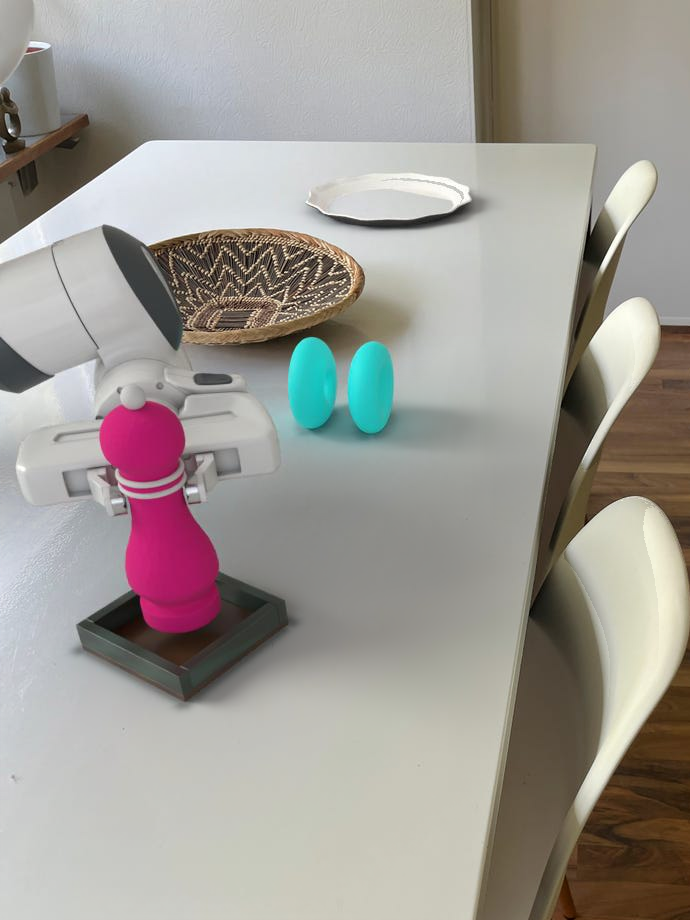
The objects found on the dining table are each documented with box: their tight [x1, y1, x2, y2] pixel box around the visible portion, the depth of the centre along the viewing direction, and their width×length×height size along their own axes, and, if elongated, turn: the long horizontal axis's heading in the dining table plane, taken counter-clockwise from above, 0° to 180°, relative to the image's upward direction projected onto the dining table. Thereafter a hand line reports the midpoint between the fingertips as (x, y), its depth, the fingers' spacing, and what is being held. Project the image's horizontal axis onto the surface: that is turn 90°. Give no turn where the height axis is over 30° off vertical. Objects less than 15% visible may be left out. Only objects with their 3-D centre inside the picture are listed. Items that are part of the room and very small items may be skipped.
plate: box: [305, 172, 473, 228], centre depth 184 cm, size 29×29×2 cm
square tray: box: [75, 571, 289, 703], centre depth 86 cm, size 12×12×3 cm
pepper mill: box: [99, 385, 221, 633], centre depth 78 cm, size 7×7×20 cm
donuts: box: [287, 336, 395, 435], centre depth 114 cm, size 10×10×10 cm
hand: (157, 501), depth 77 cm, fingers closed on pepper mill, 4 cm apart
